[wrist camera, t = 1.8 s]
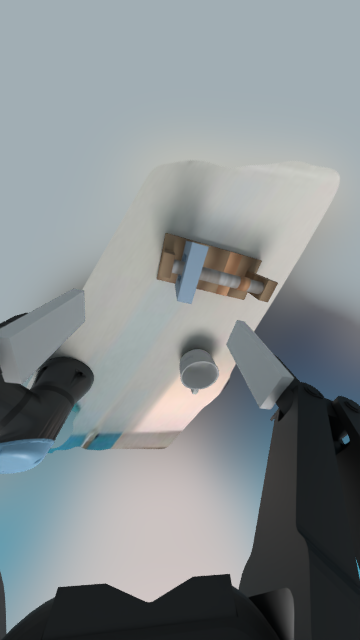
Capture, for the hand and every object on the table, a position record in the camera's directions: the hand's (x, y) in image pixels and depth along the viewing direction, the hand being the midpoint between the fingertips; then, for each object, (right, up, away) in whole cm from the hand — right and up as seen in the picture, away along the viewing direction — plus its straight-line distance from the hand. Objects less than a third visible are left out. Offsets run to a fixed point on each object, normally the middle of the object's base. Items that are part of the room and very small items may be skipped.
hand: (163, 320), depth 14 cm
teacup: (+6, -13, +38) cm, 41 cm away
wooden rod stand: (+8, +12, +25) cm, 29 cm away
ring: (+3, +11, +20) cm, 23 cm away
